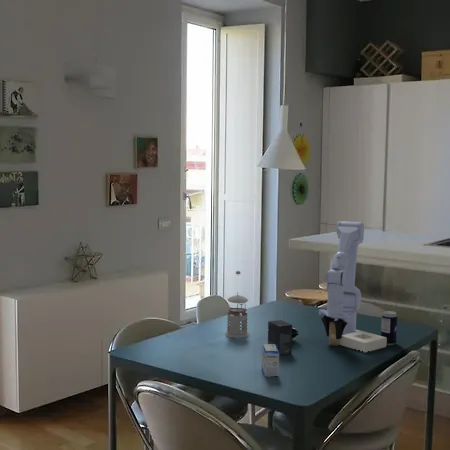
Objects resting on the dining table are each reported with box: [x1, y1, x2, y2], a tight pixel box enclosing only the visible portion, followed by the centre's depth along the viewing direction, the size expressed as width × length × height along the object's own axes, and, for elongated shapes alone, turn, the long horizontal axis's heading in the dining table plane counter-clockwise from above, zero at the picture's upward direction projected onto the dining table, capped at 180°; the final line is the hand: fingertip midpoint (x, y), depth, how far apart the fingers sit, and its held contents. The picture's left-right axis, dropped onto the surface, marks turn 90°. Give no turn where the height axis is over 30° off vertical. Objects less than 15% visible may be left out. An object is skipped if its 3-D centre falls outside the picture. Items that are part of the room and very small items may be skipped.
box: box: [267, 319, 293, 356], centre depth 250 cm, size 8×6×11 cm
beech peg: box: [328, 322, 341, 347], centre depth 260 cm, size 4×4×8 cm
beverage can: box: [380, 310, 398, 346], centre depth 262 cm, size 6×6×12 cm
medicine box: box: [261, 343, 280, 378], centre depth 226 cm, size 8×4×9 cm, turn 5°
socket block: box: [339, 330, 387, 353], centre depth 259 cm, size 12×12×4 cm
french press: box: [224, 270, 250, 339], centre depth 272 cm, size 10×12×25 cm
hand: (333, 337), depth 260 cm, fingers open, 4 cm apart
